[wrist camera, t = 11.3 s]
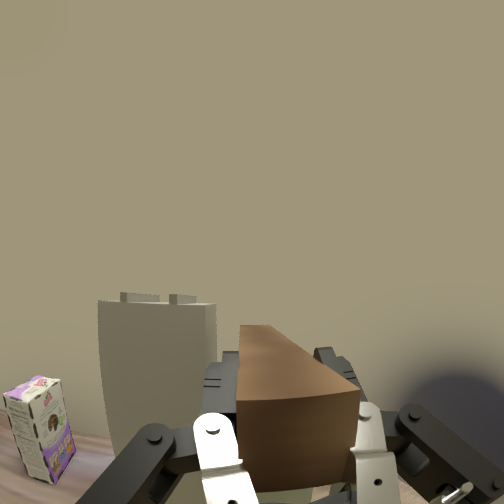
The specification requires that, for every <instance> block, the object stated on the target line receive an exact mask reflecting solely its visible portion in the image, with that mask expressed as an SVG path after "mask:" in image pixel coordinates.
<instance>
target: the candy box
mask: <svg viewBox="0 0 504 504" xmlns="http://www.w3.org/2000/svg"><path fill="white" fill-rule="evenodd" d="M3 398H4V402H5V406H6V411H7V414H8V418H9V422H10V425H11V428H12V432H13V435H14V438H15V441H16V444H17V447H18V450H19V453H20V455H21V458H22V461H23V463H24V466H25V468H26V470H27V473H28V475H29V476H30V477H33V478H35V479H38V480H41V481H43V482H46V483H49V484H52V485H55V484H56V482H57V481H58V479H59V477H60V475H61V474H62V472H63V470H64V469H65V468H66V466H67V464H68V462H69V461H70V459H71V457H72V456H73V454H74V453H75V451H76V449H75V445H74V442H73V438H72V434H71V431H70V426H69V422H68V418H67V413H66V408H65V403H64V398H63V393H62V386H61V380H60V379H54V378H49V377H44V376H39V375H38V376H36V377H34V378H32V379H30V380H29V381H27V382H25V383H23V384H21V385H19V386H17V387H15V388H14V389H12V390H10V391H8V392H6V393H4V394H3Z"/></svg>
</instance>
